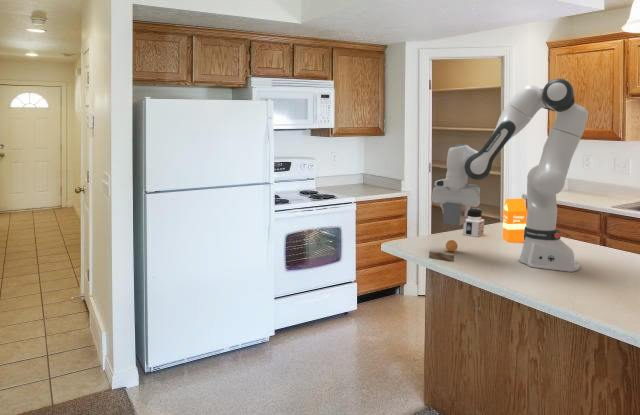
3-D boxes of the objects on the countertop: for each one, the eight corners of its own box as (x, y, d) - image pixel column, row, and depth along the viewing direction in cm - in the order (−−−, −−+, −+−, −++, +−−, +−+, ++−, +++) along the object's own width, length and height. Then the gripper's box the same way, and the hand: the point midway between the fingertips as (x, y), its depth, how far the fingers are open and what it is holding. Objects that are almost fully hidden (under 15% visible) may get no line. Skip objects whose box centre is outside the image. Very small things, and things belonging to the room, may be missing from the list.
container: (477, 237, 257) (479, 210, 254) (462, 234, 261) (464, 209, 259) (483, 234, 263) (485, 208, 261) (468, 232, 267) (470, 207, 265)
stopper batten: (454, 260, 214) (454, 254, 213) (452, 261, 212) (452, 255, 212) (430, 256, 219) (431, 250, 219) (428, 257, 218) (429, 251, 217)
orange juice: (526, 241, 247) (527, 199, 245) (507, 242, 247) (508, 199, 245) (520, 238, 255) (521, 197, 252) (502, 239, 255) (502, 198, 253)
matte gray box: (465, 222, 227) (466, 202, 226) (459, 225, 221) (460, 204, 220) (449, 220, 231) (450, 200, 230) (442, 223, 225) (443, 203, 224)
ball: (454, 243, 223) (454, 254, 225) (459, 239, 227) (459, 250, 229) (443, 241, 226) (443, 252, 228) (448, 237, 230) (448, 248, 232)
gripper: (483, 184, 220) (480, 216, 222) (436, 180, 231) (435, 211, 234) (478, 185, 215) (476, 219, 217) (431, 181, 226) (429, 213, 228)
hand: (454, 215), depth 225 cm, fingers closed on matte gray box, 7 cm apart
